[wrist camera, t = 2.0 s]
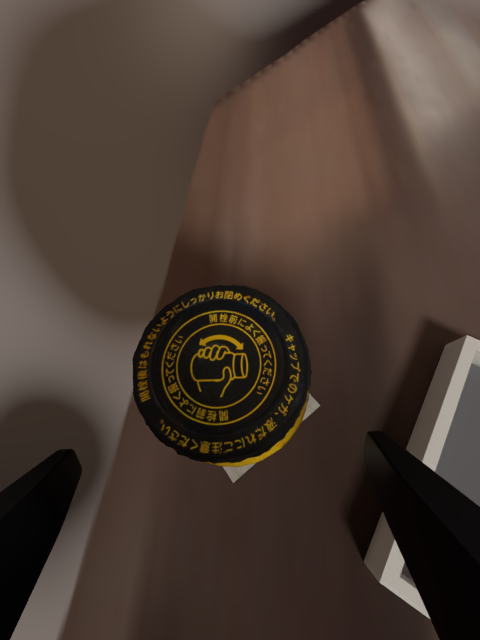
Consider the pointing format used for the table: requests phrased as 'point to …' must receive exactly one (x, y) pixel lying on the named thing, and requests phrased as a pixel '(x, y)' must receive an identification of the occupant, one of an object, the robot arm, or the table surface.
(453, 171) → the table surface
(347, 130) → the table surface
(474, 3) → the table surface
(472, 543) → the robot arm
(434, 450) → the tray
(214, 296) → the condiment
